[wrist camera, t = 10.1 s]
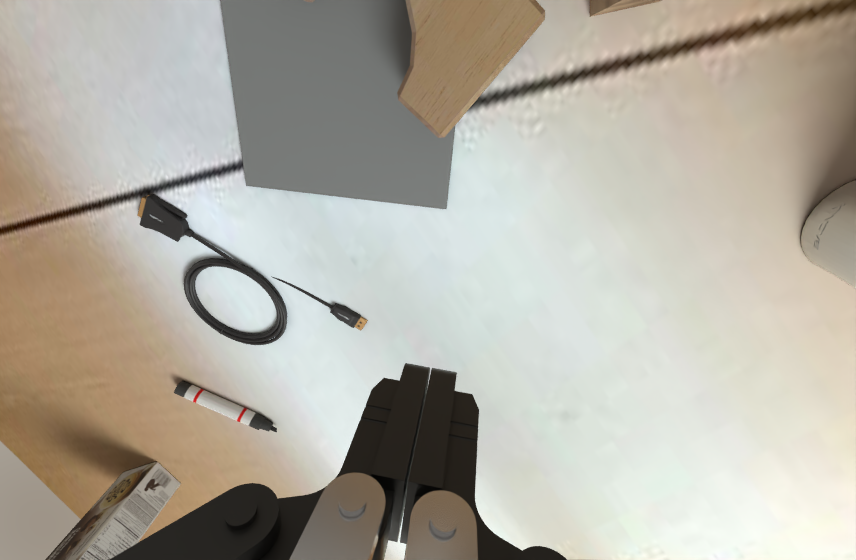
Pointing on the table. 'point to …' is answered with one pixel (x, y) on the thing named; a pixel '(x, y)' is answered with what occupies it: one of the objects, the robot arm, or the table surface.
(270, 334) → the cable
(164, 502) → the coffee box
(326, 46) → the mat
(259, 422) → the marker
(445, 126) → the decorative block
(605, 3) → the walnut block
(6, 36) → the table surface
